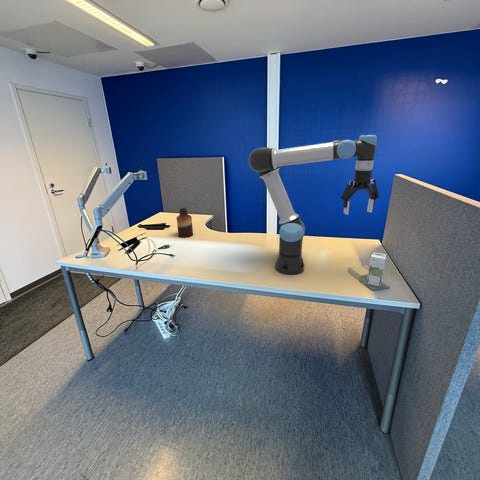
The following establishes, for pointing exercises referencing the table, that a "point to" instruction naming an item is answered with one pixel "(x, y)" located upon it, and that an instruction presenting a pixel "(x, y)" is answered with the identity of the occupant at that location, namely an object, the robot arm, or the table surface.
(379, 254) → the syrup box
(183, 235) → the brown cylindrical bottle
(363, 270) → the board
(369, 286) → the stub mat
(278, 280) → the table surface
